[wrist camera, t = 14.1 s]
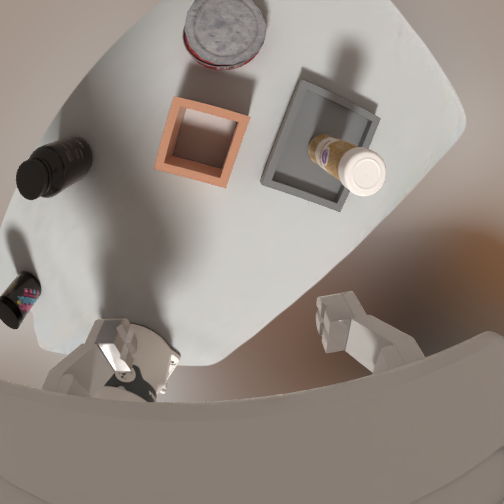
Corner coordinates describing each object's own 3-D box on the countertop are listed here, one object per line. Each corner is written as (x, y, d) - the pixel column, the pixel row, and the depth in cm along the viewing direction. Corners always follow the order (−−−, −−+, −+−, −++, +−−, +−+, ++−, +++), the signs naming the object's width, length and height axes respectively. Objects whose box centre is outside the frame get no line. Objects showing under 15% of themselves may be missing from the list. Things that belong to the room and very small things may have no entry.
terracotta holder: (226, 177, 37) (225, 188, 32) (163, 160, 35) (154, 169, 30) (248, 115, 33) (250, 117, 28) (182, 97, 31) (174, 96, 26)
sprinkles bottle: (305, 134, 34) (343, 151, 22) (337, 132, 34) (388, 149, 22) (308, 167, 36) (345, 200, 24) (339, 164, 36) (387, 195, 24)
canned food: (232, 16, 29) (267, -20, 20) (257, 69, 32) (300, 42, 24) (158, 29, 25) (177, -15, 16) (183, 89, 29) (210, 54, 20)
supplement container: (35, 301, 45) (14, 333, 36) (15, 279, 42) (-9, 309, 33) (46, 288, 44) (23, 322, 35) (25, 264, 41) (-2, 295, 32)
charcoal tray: (335, 207, 40) (340, 212, 38) (260, 180, 37) (261, 184, 35) (374, 117, 33) (380, 118, 31) (298, 80, 30) (302, 79, 29)
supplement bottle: (78, 188, 35) (35, 220, 25) (51, 161, 32) (3, 185, 22) (102, 154, 33) (57, 177, 23) (73, 126, 30) (23, 140, 20)
